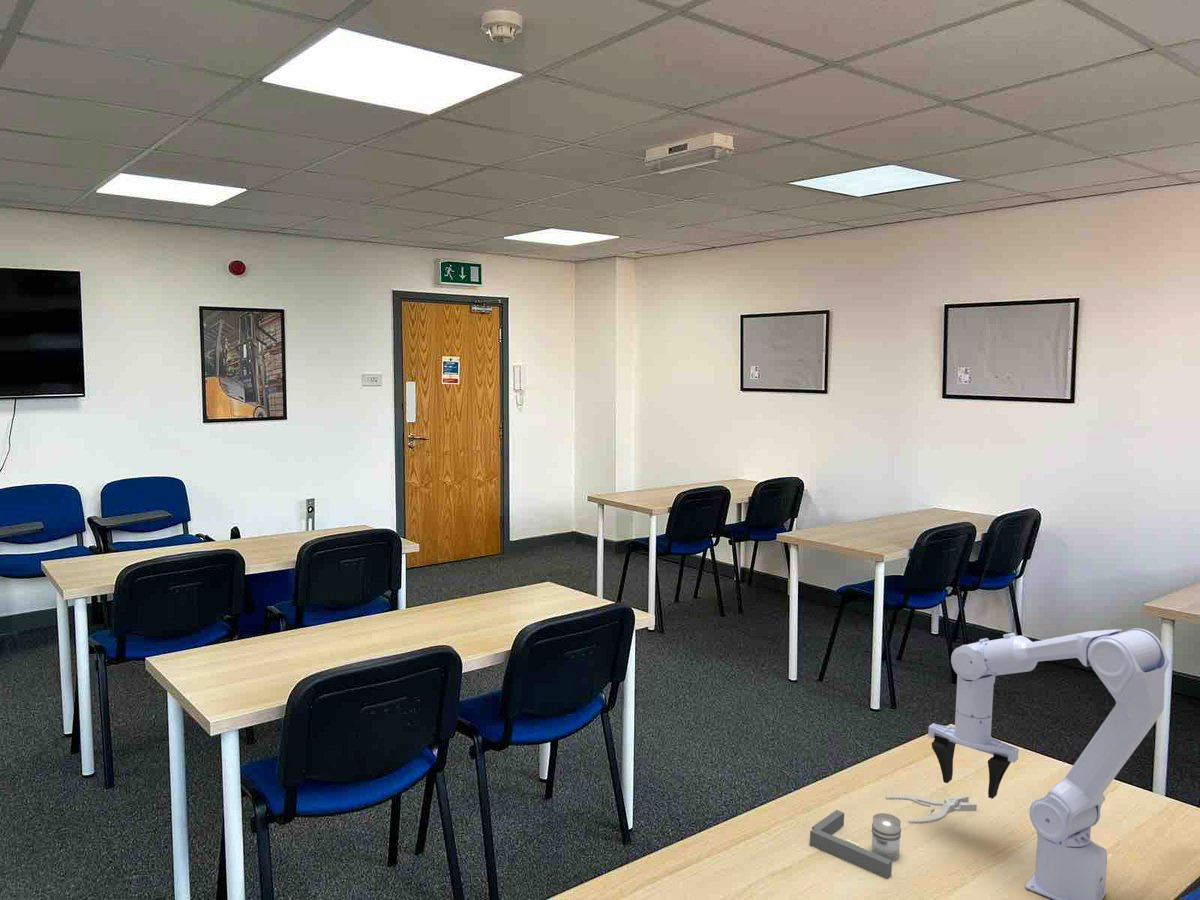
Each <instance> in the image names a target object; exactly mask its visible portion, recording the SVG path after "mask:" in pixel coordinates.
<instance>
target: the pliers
mask: <svg viewBox="0 0 1200 900" xmlns="http://www.w3.org/2000/svg"><path fill="white" fill-rule="evenodd" d="M884 798H886V799H885V800H895V799H896V800H897V799H898V800H901V801H911V802H913V803H915V804H917V805H920V806H924V807H928V808H931V806H939V807H940V808H939V809H938V810H937V812H936V813H934V814H932V812H934V811H935V808H934V807H932V808H931V809H929V811H928V816H926V817H919V818H915V819H909V820H908V824H915V825H916V824H919V825H920V824H929V823H934V822H937V821H940V820H942V819H944V818H945V817H946V816H947V815H948V814H949V813H952V812H975V811H977V807H978V805H977V803H976V802H969V801H970V800H969V799H970V797H969V796H968V795H956V796H955V795H954V796H949V797H945V798H944V801H943V800H942V801H939V800H935V799H931V798H928V797H922V796H917V795H906V794H905V795H902V794H896V795H893V794H892V795H887V796H884Z"/></svg>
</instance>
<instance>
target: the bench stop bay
mask: <svg viewBox="0 0 1200 900" xmlns="http://www.w3.org/2000/svg"><path fill="white" fill-rule="evenodd" d="M844 825H845V812H843V811H841V810H838V809H836V810H834V811H833V812H832V813H830V814H829V815H827V816H825V817H824V818H823V819H821V820H819V822H817V823H816V824H814V825H813V826H812V827H811V830H810V831H809V845H810V846H812V847H814V848H816V849H819V850H821V851H824V852H826V853H828V854H830V855H833V856H834V857H837V858H839V859H842V860H844V861H846V862H849V863H850V864H853V865H856V866H858V867H860V868H862V869H864V870H867V871H869V872H871V873H873V874H876V875H879V876H880V877H883V878H885V879H889V878H890V877H891V876H892V872H893V871H892V869H893V861H892V860H889V859H887V858H885V857H882V856H880V855H878V854H875V853H873V852H872V851H870V850H867V849H866V848H863V847H860V846H861V844H860V843H857V842H855V841H852V840H850V839H845V840H844V839H842V838H839V837H837V836H835V835H833V834H834V833H836V832H837V831H839V830H840V829H841V828H843V827H844ZM842 826H843V827H842Z"/></svg>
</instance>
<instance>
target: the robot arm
mask: <svg viewBox="0 0 1200 900" xmlns="http://www.w3.org/2000/svg"><path fill="white" fill-rule="evenodd" d="M1122 631H1123V629H1101V630H1100V629H1099V630H1090V631H1089V630H1087V631H1083V632H1077V633H1072V634H1067V635H1064V636H1056V637H1053V638H1052V637H1051V638H1047V639H1046V638H1045V639H1043V640H1035V641H1032V640H1030V639H1029V638H1028V637H1026V636H1023V635H1016V633H1015V632H1011V633H1005V634H1003V635H1002V637H1003V638H1002V637H1001V638H998V639H992V640H989V637H988V638H987V637H985V638H980V639H979V640H978V641H976V642H972V643H968V644H962V645H960V646H958V647H956V648H954V650H953V651H952V653H951V656H950V658H951V659H950V663H951V667H952V669H953V671H954V672H955V674H957V676H956V677H957V678H956V694H955V695H956V699H955V715H954V717H955V718H954V727H953V726H947V725H942V724H937V723H931V724H930V725H929V726H928V730H927V731H928V733H927V734H928V735H927V736H928V738H932V739H933V741H932V742H931V749H932V751H933V752H934V754H935V756H936V758H937V761H938V763H939V767H940V770H941V775H942V780H943V783H945V784H948V783H950V782H951V781H952V780H953V776H954V775H953V773H954V772H953V771H954V769H953V768H954V755H955V748H956V744H957V745H959V746H963V747H966V748H969V749H973V750H976V751H979V752H982V753H986V754H989V755H992V757H990V758H989V759H988V760H987V765H988V766H987V767H988V777H989V778H988V780H989V781H988V790H987V793H988V794H987V795H988V798H990V799H994V798H996V797H997V795H998V791H999V787H1000V785H1001V781H1002V779H1003V777H1004V775H1005V773H1006V771H1007V770H1008V768H1009V766H1010V765H1011V763H1012V764H1013V763H1016V762H1017V761H1018V760H1019V751H1020V750H1019V747H1015V746H1012V745H1010V744H1007V743H1005V742H1003V741H1001V740H999V739H996V738H994V737H992V736H991V735H992V720H993V700H994V684H995V683H996V677H997V676H1001V675H1011V674H1018V673H1026V672H1032V671H1033V670H1034V669H1035V668H1036V666H1037V665H1038V662H1045V661H1046V662H1047V661H1057V660H1067V659H1077V660H1079V662H1080V663H1081V664H1082V666H1084V667H1087V668H1088V667H1091V668H1092V670H1093V672H1095V674H1096V675H1097V676H1098V678H1099V680H1100V681H1101V682H1102V684H1103V685H1104V686H1105V687H1106V689H1107V690H1108V692H1109V693H1110V695H1111V696H1112V697H1113V699H1114V700H1115V705H1114V707H1113V708H1112V709H1111V711H1110V712H1109V714H1108V715H1107V716H1106V718H1105V719H1104V721H1103V722H1102V723H1101V725H1100V727H1099V728H1098V730H1097V731H1096V732H1095V734H1094V735H1093V737H1092V738H1091V740H1090V741H1089V742H1088V744H1087V746H1086V747H1085V748H1084V750H1083V751H1082V752H1081V754H1080V755H1079V757H1078V758H1077V759H1076V761H1075V763H1074V764H1073V765H1072V767H1071V768H1070V769H1069V771H1068V773H1067V774H1066V776H1065V777H1063V778H1062V779H1061V780H1060V781H1059V782H1058V783H1057V784H1055V785H1054V786H1053V787H1052V788H1051V789H1050V790H1048V792H1047V794H1046V795H1045V796H1043V797H1040V798H1036V799H1035V800H1034V801H1033V802H1032V803H1031V804H1030V806H1029V818H1030V821H1031V824H1032V826H1033V827H1034V829H1035V831H1036V835H1037V836H1036V854H1035V870H1034V873H1033V875H1032V876H1031V877H1030V879H1029V880H1028V881H1027V882H1026V883H1025V888H1026V889H1027V890H1029V891H1032V892H1034V893H1037V894H1039V895H1041V896H1044V897H1046V898H1049V899H1052V900H1103V899H1104V897H1105V895H1106V893H1107V890H1106V881H1107V880H1106V879H1107V867H1108V866H1107V865H1108V864H1107V863H1108V852H1107V849H1106V848H1105V847H1102V845H1101V846H1100V845H1098V844H1097V843H1095V842H1094V841H1092V839H1091V832H1092V827H1093V826H1095V825H1097V824H1098V822H1099V821H1100V818H1101V808H1102V805H1103V804H1104V802H1105V800H1106V797H1105V795H1104V793H1105V791H1106V790H1107V789H1108V788H1109V786H1110V784H1112V782H1113V781H1114V780H1115V778H1116V777H1117V775H1118V774H1119V772H1120V771H1121V769H1122V768H1123V767H1124V765H1126V763H1127V761H1128V760H1129V759H1130V757H1131V756H1132V755H1133V753H1134V751H1136V749H1137V748H1138V746H1139V745H1140V744H1141V742H1142V741H1143V739H1145V737H1146V735H1147V734H1148V733H1149V731H1150V730H1151V729H1152V727H1153V726H1154V725H1155V723H1156V722H1157V720H1159V718H1160V716H1161V715H1162V713H1163V711H1164V709H1165V680H1166V679H1165V675H1166V671H1167V669H1168V666H1169V664H1170V660H1169V658H1168V655H1167V653H1166V651H1165V648H1164V646H1163V645H1162V642H1161V641H1160V639H1159V638H1158V637H1157V636H1156V635H1155V634H1154V633H1152V632H1151V631H1149V630H1146V629H1144V628H1138V627H1135V628H1129V629H1127V630H1125V631H1124V632H1122Z"/></svg>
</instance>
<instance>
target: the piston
mask: <svg viewBox="0 0 1200 900" xmlns="http://www.w3.org/2000/svg"><path fill="white" fill-rule="evenodd" d="M901 832H902V828H901V819H900V818H899V817H897V816H895V815H893V814H890V813H884V812H880V813H875V814H874V815H873V816H872V823H871V833H872V834H871V835H872V836H871V852H873V853H875V854H878V855H880V856H882V857H885V858H887V859H889V860H892V862H895V861H897V860H899V858H900V844H901V842H900V841H901V838H902V837H901V835H902V833H901Z"/></svg>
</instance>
